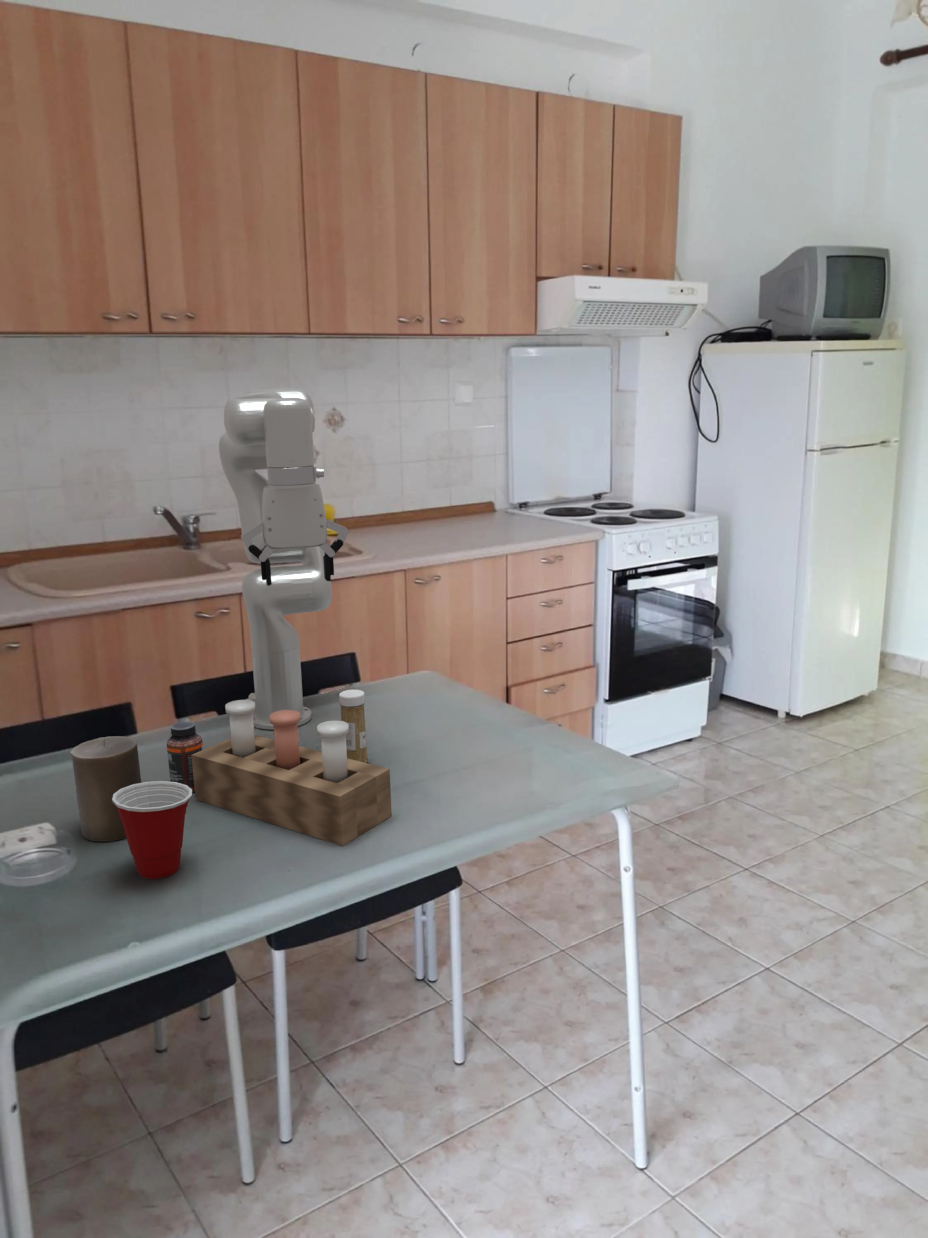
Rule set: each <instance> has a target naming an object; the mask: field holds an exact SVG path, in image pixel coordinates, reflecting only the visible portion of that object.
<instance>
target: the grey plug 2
mask: <svg viewBox="0 0 928 1238" xmlns="http://www.w3.org/2000/svg"><path fill="white" fill-rule="evenodd" d="M316 731H317V732H316V733H317V736H319V737H320V742H321V752H322V763H323V779H324V780H327V781H331V782H334V783H339V782H341V781H343V780H344V779H346V778H348V768H347V749H346V734H347V733H348V732H349V725H348V723H346V722H344V721H341V720H327V721H324V722H320V723H319V724H318V725H317V726H316Z"/></svg>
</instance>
